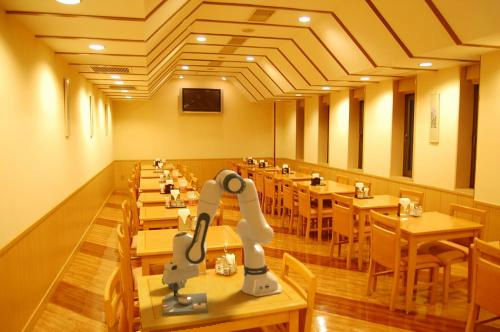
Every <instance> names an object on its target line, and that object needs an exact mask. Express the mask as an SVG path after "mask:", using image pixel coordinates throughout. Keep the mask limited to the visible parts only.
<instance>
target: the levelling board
mask: <svg viewBox="0 0 500 332" xmlns="http://www.w3.org/2000/svg"><path fill="white" fill-rule="evenodd" d="M179 294H180V293H179ZM183 294H184V295H185V293H183ZM187 294H188V295H191V296H192V304H190V305H186V306H183V305H179V300H178V298H179V297H178V296H174V294H165V295H164V298H163V305H161V307H162V311H161V313H162V314H161V315H162V317H165V316H166V317H167V316H168V317H169V316H178V315H179V316H180V315H181V316H182V315H194V314H195V315H196V314H208V313H209V308H208V307H209V305H208V296H207V292H202V293H200V292H199V293H187ZM180 295H181V294H180Z"/></svg>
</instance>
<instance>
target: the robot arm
mask: <svg viewBox="0 0 500 332" xmlns="http://www.w3.org/2000/svg"><path fill="white" fill-rule="evenodd" d="M225 192H227V193H229V194H232V195H233V194H234V195H235V194H236V196H237V202H238V205H239V207H238V208H239V210H240V215H241V216H242V218H243V219H240V220H239V221H238V222H237V224H236V226H235V231H236V233H237V235H238V236H239V238H240V240H241V243H242V248H243V252H244V253H243V255H244V264H243V283H242V287H241V291H242V292H243V293H245V294H248V295H251V296H254V297H262V296H270V295H277V294H281V293H282V292H283V287H282V285H281V284H280V283H279V282H278V278H277V277H276V276H275V275H274V274H273V273H272V272H270V271H271V269H270V267H269V266H268V264H266V263H265V250H264V248H263V247H262V245H268V244H270V243H271V242H272V241H273V239H274V233H275V232H274V229H273V228H272V227H271V226H270V225H269V223H268V221H267V220H266V218H265V216H264V213H263V212H262V208H261V205H260V199H259V194H258V190H257V188H256V184H255V182H254V181H253V180H252V179H251V178H247V177H246V178H243V177H242V176H241V175H239V174H238V173H237V172H236V171H234V170H232V169H230V168H222V169H220V170H219V171H218V172H217V174H216V175H215V176H214V177H213V178H212V179H209V180H206V181H205V182H204V184H203V185H202V188H201V191H200V193H199V196H198V197H199V198H198V201H197V208H196V222H195V224H196V225H195V229H194V232H193V235H191V234H190V233H188V232H187V231H186V232H185V231H183V232H179V233H176V234H175V235H174V236H173V239H172V252H173V255H172V259H171V260H169V261H167V262H166V263H164V265H163V267H164V269H163V273H162V277H163V282H164V283H165V285H168V284H171V283H175V282H177V284H178V285H179V289H180V290H181V289H185V287H186V284H187V282H188V281H187V280H190V279H193V278H197V277H199V275H200V269H199V267H200V266H199V264H201V263H203V261H205V259H206V258H205V257H206V254H207V250H208V243H207V241H206V238H207V234H208V230H209V227H210V226H211V224H212V222H213V220H214V218H215V216H216V214H217V211H218V209H219V206H220V202H221V198H222V196H223V195H224V193H225ZM182 280H183V283H182V284H180V283H181V281H182ZM179 289H178V290H179Z"/></svg>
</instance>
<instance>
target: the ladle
mask: <svg viewBox="0 0 500 332" xmlns="http://www.w3.org/2000/svg"><path fill="white" fill-rule="evenodd" d="M172 290H173V295H174V296H178V297H179V298H178V300H179V305H183V306H186V305H190V304H192V296H191V295H188V294H189V293H186V294H185V293H182V294H181V295H180V293H179V289H178V284H177V283H175V284H173V289H172ZM184 294H185V295H184Z"/></svg>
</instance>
